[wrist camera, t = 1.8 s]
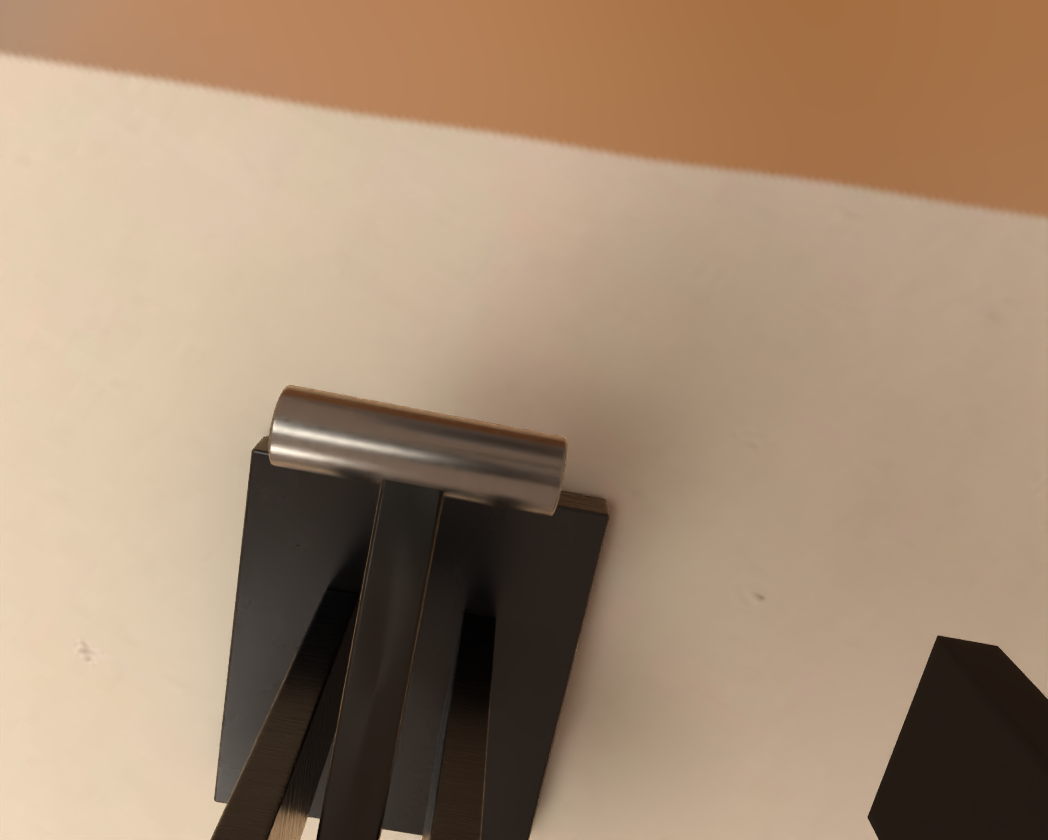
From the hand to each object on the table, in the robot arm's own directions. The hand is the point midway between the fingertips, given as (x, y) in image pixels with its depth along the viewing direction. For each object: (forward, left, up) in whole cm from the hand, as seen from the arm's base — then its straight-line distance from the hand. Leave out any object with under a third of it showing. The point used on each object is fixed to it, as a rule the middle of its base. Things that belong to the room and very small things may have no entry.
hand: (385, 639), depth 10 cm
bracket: (+8, +5, -14) cm, 17 cm away
